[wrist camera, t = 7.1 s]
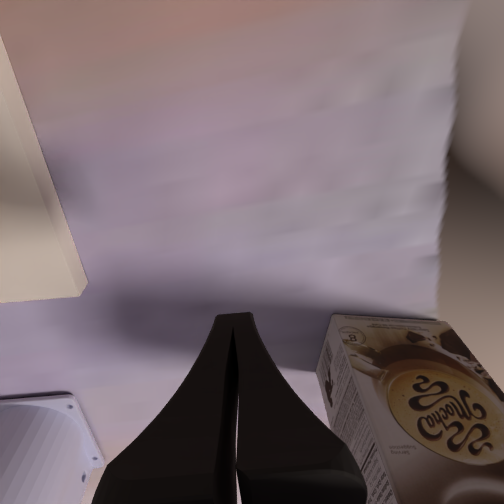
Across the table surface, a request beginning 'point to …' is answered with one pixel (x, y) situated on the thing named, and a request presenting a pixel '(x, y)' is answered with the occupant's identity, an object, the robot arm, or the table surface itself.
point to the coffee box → (413, 410)
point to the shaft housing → (30, 210)
